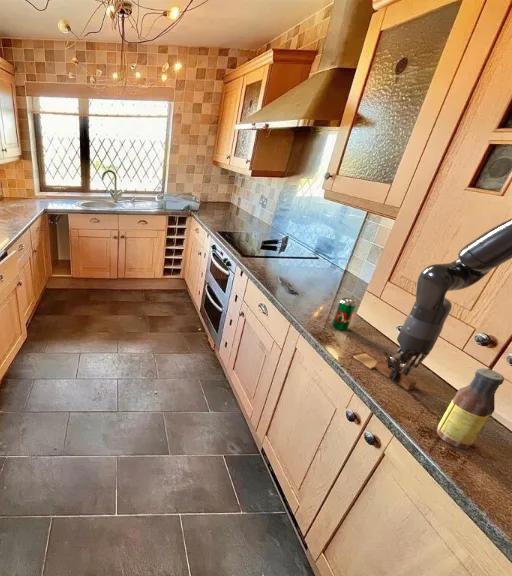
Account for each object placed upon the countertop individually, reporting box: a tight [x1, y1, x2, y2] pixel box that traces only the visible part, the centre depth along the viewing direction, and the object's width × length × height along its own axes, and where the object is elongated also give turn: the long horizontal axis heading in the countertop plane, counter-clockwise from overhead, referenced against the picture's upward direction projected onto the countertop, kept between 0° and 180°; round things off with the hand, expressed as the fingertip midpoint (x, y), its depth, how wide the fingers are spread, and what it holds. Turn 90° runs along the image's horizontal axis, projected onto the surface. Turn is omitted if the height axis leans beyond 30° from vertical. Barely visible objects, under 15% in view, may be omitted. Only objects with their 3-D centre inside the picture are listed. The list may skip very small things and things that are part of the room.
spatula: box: [353, 352, 417, 391], centre depth 95 cm, size 16×5×2 cm, turn 16°
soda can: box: [332, 297, 357, 332], centre depth 115 cm, size 5×5×12 cm
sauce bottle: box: [436, 367, 505, 450], centre depth 70 cm, size 7×6×20 cm
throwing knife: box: [277, 275, 297, 294], centre depth 152 cm, size 4×20×1 cm, turn 176°
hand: (396, 379), depth 92 cm, fingers closed on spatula, 2 cm apart
